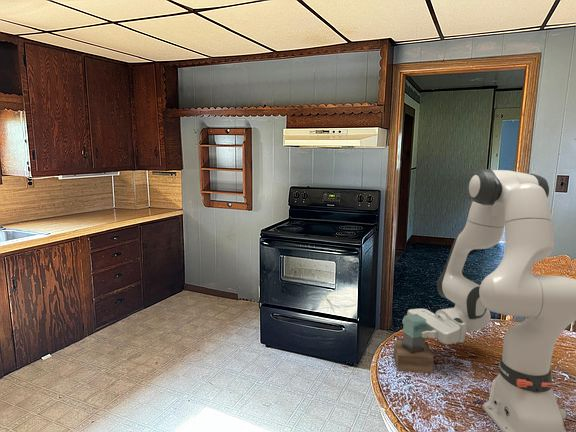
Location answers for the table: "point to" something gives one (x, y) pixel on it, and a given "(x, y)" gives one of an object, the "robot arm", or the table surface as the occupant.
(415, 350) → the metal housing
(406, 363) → the walnut stand
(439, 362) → the table surface
